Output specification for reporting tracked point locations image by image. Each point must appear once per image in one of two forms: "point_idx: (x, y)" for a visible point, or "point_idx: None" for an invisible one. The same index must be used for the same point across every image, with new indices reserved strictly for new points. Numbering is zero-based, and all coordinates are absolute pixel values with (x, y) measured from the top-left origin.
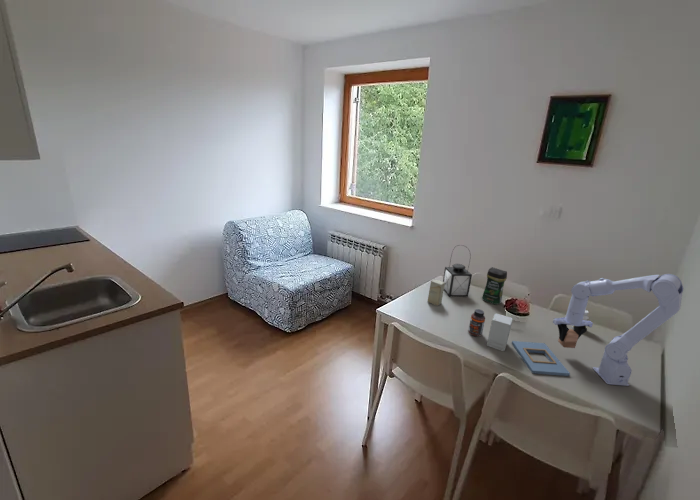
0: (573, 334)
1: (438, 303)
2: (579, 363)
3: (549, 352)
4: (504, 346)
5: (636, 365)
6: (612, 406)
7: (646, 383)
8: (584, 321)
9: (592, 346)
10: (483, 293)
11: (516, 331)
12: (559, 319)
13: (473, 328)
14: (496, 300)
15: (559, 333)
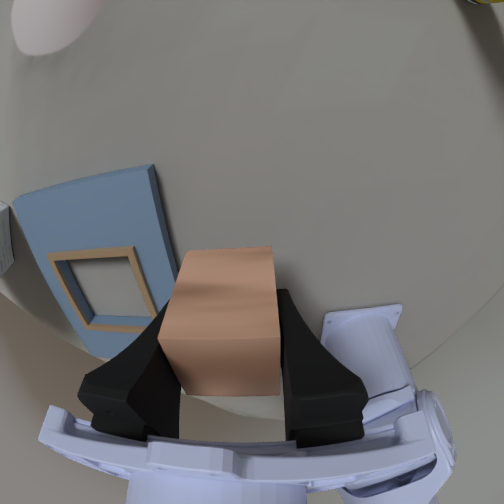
0: (238, 393)
1: None
2: (288, 289)
3: (151, 262)
4: (1, 273)
5: (496, 255)
6: (268, 410)
7: (438, 333)
8: (352, 480)
9: (456, 131)
10: None
11: (46, 57)
12: (81, 448)
13: None
14: None
15: (154, 323)
